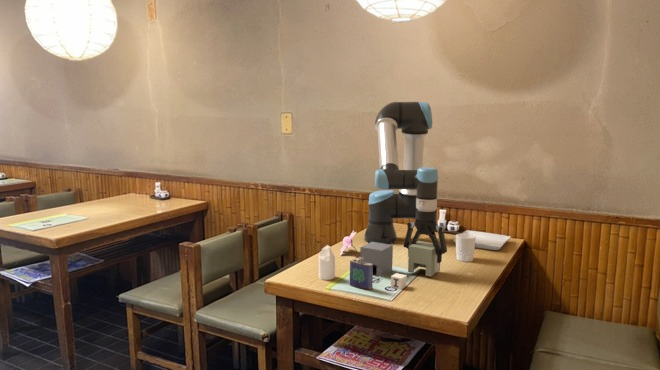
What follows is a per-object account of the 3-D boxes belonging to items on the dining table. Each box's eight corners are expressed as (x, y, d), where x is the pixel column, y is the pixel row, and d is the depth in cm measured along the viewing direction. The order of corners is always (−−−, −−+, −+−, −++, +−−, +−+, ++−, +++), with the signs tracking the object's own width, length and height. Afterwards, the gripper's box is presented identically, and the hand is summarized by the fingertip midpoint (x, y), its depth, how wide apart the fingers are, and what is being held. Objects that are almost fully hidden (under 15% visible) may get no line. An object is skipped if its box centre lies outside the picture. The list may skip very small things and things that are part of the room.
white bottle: (318, 247, 177) (318, 243, 183) (318, 280, 179) (318, 274, 185) (335, 247, 177) (334, 243, 183) (335, 280, 179) (334, 274, 185)
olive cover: (408, 272, 185) (408, 246, 184) (417, 265, 193) (418, 240, 191) (430, 276, 180) (431, 249, 179) (439, 269, 188) (440, 244, 186)
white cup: (475, 263, 200) (476, 238, 198) (455, 261, 201) (456, 237, 200) (473, 257, 207) (474, 234, 206) (454, 256, 209) (455, 233, 207)
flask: (373, 288, 170) (374, 258, 169) (369, 291, 168) (369, 260, 166) (352, 283, 176) (352, 253, 174) (347, 285, 174) (347, 255, 172)
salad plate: (500, 253, 214) (500, 246, 213) (452, 246, 225) (452, 239, 224) (511, 242, 231) (511, 235, 231) (466, 236, 242) (466, 229, 242)
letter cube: (390, 287, 172) (390, 276, 172) (396, 284, 175) (396, 273, 175) (400, 289, 170) (401, 278, 169) (406, 286, 173) (406, 275, 173)
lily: (346, 249, 222) (336, 232, 219) (369, 242, 216) (359, 224, 214) (339, 265, 211) (329, 247, 209) (363, 258, 206) (353, 239, 203)
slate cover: (360, 272, 187) (360, 246, 186) (371, 266, 195) (371, 241, 193) (381, 277, 182) (381, 250, 181) (392, 270, 190) (392, 245, 188)
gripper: (395, 208, 186) (393, 266, 189) (451, 214, 174) (448, 276, 177) (403, 204, 192) (402, 261, 195) (458, 211, 180) (455, 271, 183)
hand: (424, 268), depth 186 cm, fingers closed on olive cover, 9 cm apart
